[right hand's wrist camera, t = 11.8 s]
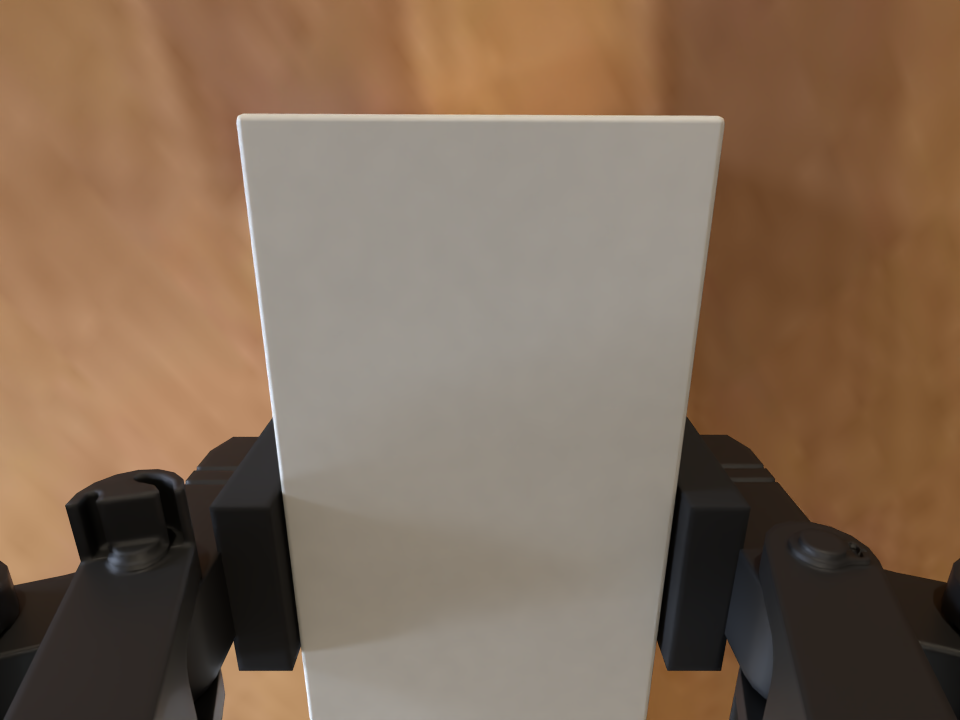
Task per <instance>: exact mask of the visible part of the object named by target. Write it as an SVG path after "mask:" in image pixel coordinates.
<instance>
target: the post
mask: <svg viewBox="0 0 960 720" xmlns="http://www.w3.org/2000/svg"><path fill="white" fill-rule="evenodd" d="M724 125H725V123H724V119H723V118H722V117H719V116H631V115H414V114H241V115H239V116H238V117H237V130H238V138H239V146H240V154H241V162H242V170H243V179H244V187H245V195H246V203H247V211H248V219H249V227H250V235H251V244H252V252H253V260H254V268H255V276H256V284H257V292H258V300H259V309H260V317H261V325H262V333H263V341H264V349H265V357H266V365H267V374H268V382H269V390H270V398H271V406H272V414H273V422H274V430H275V438H276V447H277V455H278V463H279V471H280V479H281V487H282V495H283V503H284V512H285V520H286V528H287V536H288V544H289V552H290V560H291V568H292V577H293V585H294V593H295V601H296V609H297V617H298V625H299V633H300V642H301V650H302V658H303V666H304V674H305V682H306V690H307V698H308V707H309V715H310V720H646V717H647V710H648V702H649V695H650V687H651V679H652V672H653V664H654V657H655V649H656V641H657V634H658V626H659V619H660V611H661V603H662V596H663V588H664V581H665V573H666V566H667V558H668V550H669V543H670V535H671V528H672V520H673V512H674V505H675V497H676V490H677V482H678V474H679V467H680V459H681V452H682V444H683V436H684V429H685V421H686V414H687V406H688V399H689V391H690V383H691V376H692V368H693V361H694V353H695V345H696V338H697V330H698V323H699V315H700V307H701V300H702V292H703V285H704V277H705V270H706V262H707V254H708V247H709V239H710V232H711V224H712V216H713V209H714V201H715V194H716V186H717V178H718V171H719V163H720V156H721V148H722V141H723V133H724Z"/></svg>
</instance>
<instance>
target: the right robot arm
mask: <svg viewBox="0 0 960 720" xmlns="http://www.w3.org/2000/svg"><path fill="white" fill-rule="evenodd" d="M763 466H764V465H763V464H762V463H761V462H760V460H759V459H758V458H757V457H756V456H755V454H754V453H753V452H752V451H751V450H750V449H749V448H748V447H746V446H744V445H743V444H741V443H739V442H738V441H736V440H735V439H733V438H731V437H730V436H728V435H699V433H698V432H697V430H696V429H695V428H694V426H693V425H692V423H691V422H690V421H689V419H688V418H687V416H686V421H685V429H684V436H683V444H682V452H681V459H680V467H679V474H678V482H677V490H676V497H675V505H674V512H673V520H672V528H671V535H670V543H669V550H668V558H667V566H666V573H665V581H664V588H663V596H662V603H661V611H660V619H659V626H658V634H657V641H658V644H659V647H660V650H661V653H662V656H663V659H664V662H665V665H666V668H667V671H721V667H722V662H723V656H724V651H725V646H726V640H728V642H729V644H730V646H731V648H732V650H733V652H734V654H735V656H736V659H737V661H738V663H739V665H740V667H739V673H738V678H737V683H736V688H735V693H734V698H733V703H732V708H731V713H730V718H729V720H960V559H959V560H957V561H956V562H955V563H954V564H953V567H952V570H951V573H950V576H949V579H948V582H947V583H946V582H941V581H936V580H931V579H926V578H921V577H916V576H911V575H906V574H901V573H896V572H892V571H888V570H884V569H883V568H882V566H881V564H880V562H879V560H878V559H877V558H876V556H875V555H874V554H873V553H872V551H871V550H870V549H869V548H868V547H867V546H865V545H864V544H863V543H861V542H860V541H858V540H857V539H855V538H854V537H852V536H851V535H848V534H846V533H844V532H842V531H839V530H837V529H835V528H832V527H829V526H825V525H821V524H817V523H813V522H810V521H809V519H808V518H807V517H806V516H805V515H804V513H803V512H802V511H801V510H800V509H799V507H798V506H797V505H796V504H795V502H794V501H793V500H792V499H791V498H790V496H789V495H788V494H787V493H786V492H785V490H784V489H783V488H782V487H781V486H780V484H779V483H778V482H775V478H774V477H773V476H772V475H771V474H770V472H769V471H768V470H767V469H766V468H764V467H763ZM65 507H66V510H67V514H68V517H69V521H70V524H71V528H72V532H73V535H74V539H75V542H76V546H77V549H78V553H79V556H80V560H81V563H80V565H79V567H78V569H77V571H76V572H75V573H71V574H68V575H63V576H58V577H53V578H48V579H44V580H39V581H34V582H29V583H24V584H19V585H13V582H12V579H11V576H10V573H9V570H8V567H7V565H5V564H4V563H3V562H1V561H0V720H222V715H223V707H224V699H225V691H224V683H223V678H222V673H221V666H222V664H223V662H224V660H225V658H226V656H227V653H228V651H229V649H230V647H231V645H232V643H233V641H234V646H235V651H236V656H237V662H238V667H239V671H293V668H294V665H295V662H296V659H297V656H298V653H299V650H300V647H301V642H300V633H299V625H298V617H297V609H296V601H295V593H294V585H293V577H292V568H291V560H290V552H289V544H288V536H287V528H286V520H285V512H284V503H283V495H282V487H281V479H280V471H279V463H278V455H277V447H276V438H275V430H274V422H273V418H272V419H271V421H270V422H269V423H268V425H267V426H266V428H265V429H264V430H263V432H262V433H261V435H260V436H259V437H232V438H231V439H229V440H227V441H226V442H224V443H223V444H221V445H219V446H218V447H216V448H214V449H213V450H211V451H210V452H209V453H208V454H207V456H206V457H205V458H204V459H203V461H202V462H201V463H200V464H199V465H198V467H197V471H193V473H192V474H191V475H190V476H189V478H188V479H187V480H186V484H185V485H184V480H183V479H182V478H181V477H180V476H178V475H177V474H176V473H174V472H170V471H165V470H160V469H152V470H136V471H131V472H126V473H122V474H117V475H114V476H111V477H109V478H106V479H103V480H101V481H98V482H95V483H93V484H92V485H90V486H88V487H87V488H85V489H83V490H82V491H80V492H78V493H77V494H76V495H75V496H74V497H73V498H72V499H71V500H70V501H69V502H68V503H67V504H66V505H65Z"/></svg>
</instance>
